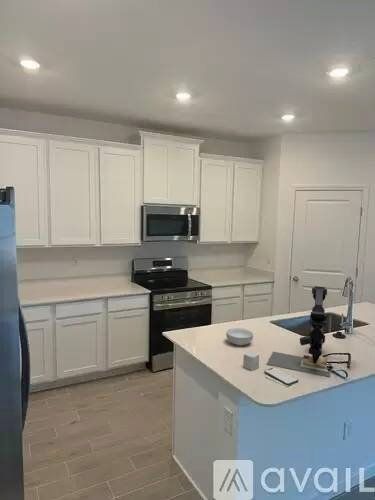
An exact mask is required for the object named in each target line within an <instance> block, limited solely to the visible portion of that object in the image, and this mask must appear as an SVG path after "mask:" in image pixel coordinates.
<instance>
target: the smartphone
mask: <svg viewBox="0 0 375 500" xmlns="http://www.w3.org/2000/svg"><path fill="white" fill-rule="evenodd" d="M263 372H264V375H267V376H268V377H270V378H272V379H274V380H275V381H277V380H278V382H279V381H280V382H279V383H281V382H282V384H283V385H284V386H287V387H288V386H292V385H294V384H297V383H299V379H298V378H297V377H295V376H293V375H291V374H289V373H287V372H285V371H283V370H281V369H279V367H275V366H273V367H272V368H268V369H266V370H264V371H263Z"/></svg>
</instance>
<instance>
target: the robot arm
mask: <svg viewBox="0 0 375 500" xmlns="http://www.w3.org/2000/svg"><path fill="white" fill-rule="evenodd" d="M311 294H312V297H313V300H314V306H313V307H312V310H311V311H310V313H309V314H310V317H309V325H311V328H310V330H309V333H308V335H307V336H301V337H300V338H299V344H300V346H305V345H306V346H307V345H309V347H308V355H309V354H310V355H311V356H312V357H313V363H315V364H316V362H317V360H318V359H319V358H321V356H322V352H323V351H322V350H323V345H324V343H326V335H325V333H324V327H326V325H327V324H328V323H327V319H328V315H327V313H325V308H324V307H323V306H324V305H323V302H324V301H325V299H326V296H328V288H326V286H318V285H317V286H314V287H312V288H311Z"/></svg>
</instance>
